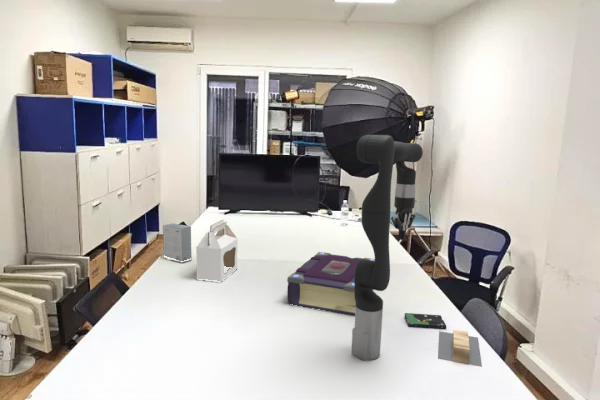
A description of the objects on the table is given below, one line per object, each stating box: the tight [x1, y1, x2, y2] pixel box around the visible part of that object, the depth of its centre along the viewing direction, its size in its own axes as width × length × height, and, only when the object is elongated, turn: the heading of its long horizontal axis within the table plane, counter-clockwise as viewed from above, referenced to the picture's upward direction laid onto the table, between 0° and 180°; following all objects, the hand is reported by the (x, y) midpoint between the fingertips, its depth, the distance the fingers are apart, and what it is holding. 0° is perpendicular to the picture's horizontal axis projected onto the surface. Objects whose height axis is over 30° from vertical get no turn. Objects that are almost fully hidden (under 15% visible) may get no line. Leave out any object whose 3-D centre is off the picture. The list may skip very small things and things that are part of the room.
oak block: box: [452, 329, 470, 364], centre depth 154 cm, size 5×5×14 cm
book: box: [286, 251, 375, 317], centre depth 208 cm, size 33×45×14 cm
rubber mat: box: [437, 330, 483, 368], centre depth 158 cm, size 22×14×1 cm, turn 161°
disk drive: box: [404, 312, 447, 330], centre depth 178 cm, size 10×3×15 cm
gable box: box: [195, 219, 238, 281], centre depth 227 cm, size 22×13×28 cm, turn 167°
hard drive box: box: [162, 223, 192, 261], centre depth 252 cm, size 16×8×20 cm, turn 58°
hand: (402, 239), depth 172 cm, fingers closed
